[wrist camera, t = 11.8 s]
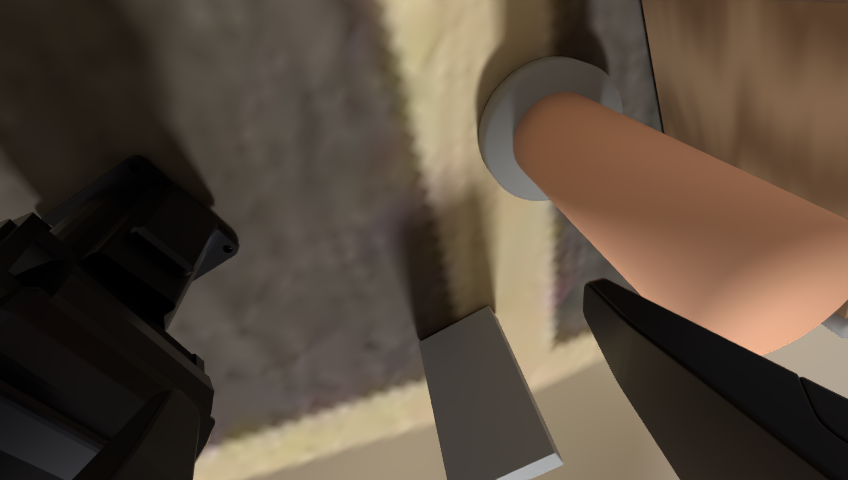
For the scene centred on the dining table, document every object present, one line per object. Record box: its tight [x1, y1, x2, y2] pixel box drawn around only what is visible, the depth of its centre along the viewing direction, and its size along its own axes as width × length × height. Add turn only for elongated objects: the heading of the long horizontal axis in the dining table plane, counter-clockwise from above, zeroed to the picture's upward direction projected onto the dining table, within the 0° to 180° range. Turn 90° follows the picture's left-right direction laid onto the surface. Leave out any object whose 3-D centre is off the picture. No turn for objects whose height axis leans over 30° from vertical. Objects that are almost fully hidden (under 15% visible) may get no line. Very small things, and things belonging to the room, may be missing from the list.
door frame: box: [419, 306, 564, 480], centre depth 22 cm, size 24×2×10 cm, turn 120°
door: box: [642, 0, 848, 339], centre depth 17 cm, size 15×3×10 cm, turn 30°
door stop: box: [479, 56, 848, 356], centre depth 15 cm, size 7×7×14 cm
